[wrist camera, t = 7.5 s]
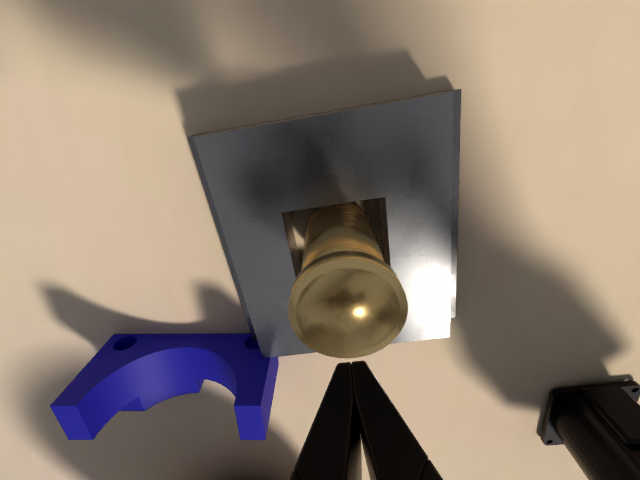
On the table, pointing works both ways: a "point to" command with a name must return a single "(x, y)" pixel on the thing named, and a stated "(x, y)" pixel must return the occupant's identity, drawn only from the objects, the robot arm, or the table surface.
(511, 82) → the table surface
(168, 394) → the cable clip
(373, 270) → the gold flared cylinder
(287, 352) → the plate
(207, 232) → the table surface
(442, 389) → the table surface
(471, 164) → the table surface
